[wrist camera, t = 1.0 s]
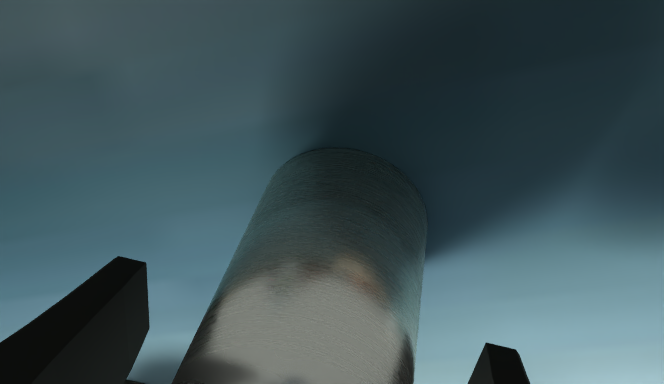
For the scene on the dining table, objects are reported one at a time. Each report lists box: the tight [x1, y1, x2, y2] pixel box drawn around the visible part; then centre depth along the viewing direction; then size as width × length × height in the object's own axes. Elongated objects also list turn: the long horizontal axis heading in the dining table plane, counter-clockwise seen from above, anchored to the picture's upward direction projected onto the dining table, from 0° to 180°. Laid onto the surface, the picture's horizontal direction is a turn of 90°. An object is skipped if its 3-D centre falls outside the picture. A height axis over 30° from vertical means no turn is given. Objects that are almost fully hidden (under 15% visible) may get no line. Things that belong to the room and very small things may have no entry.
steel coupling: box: [172, 148, 428, 384], centre depth 13 cm, size 4×4×7 cm
